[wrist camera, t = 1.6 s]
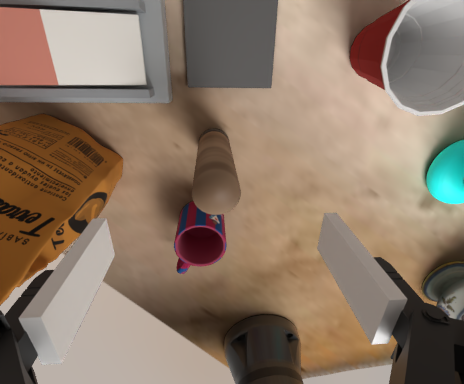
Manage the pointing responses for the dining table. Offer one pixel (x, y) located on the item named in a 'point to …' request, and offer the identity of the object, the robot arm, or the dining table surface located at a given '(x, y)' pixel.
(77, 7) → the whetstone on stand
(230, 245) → the dining table surface
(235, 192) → the wooden pestle
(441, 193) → the donuts
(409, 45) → the plastic cup
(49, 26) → the rocker
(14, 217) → the coffee package
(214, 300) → the dining table surface
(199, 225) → the cup
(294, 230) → the dining table surface
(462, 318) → the apothecary jar
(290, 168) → the dining table surface
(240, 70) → the mat
